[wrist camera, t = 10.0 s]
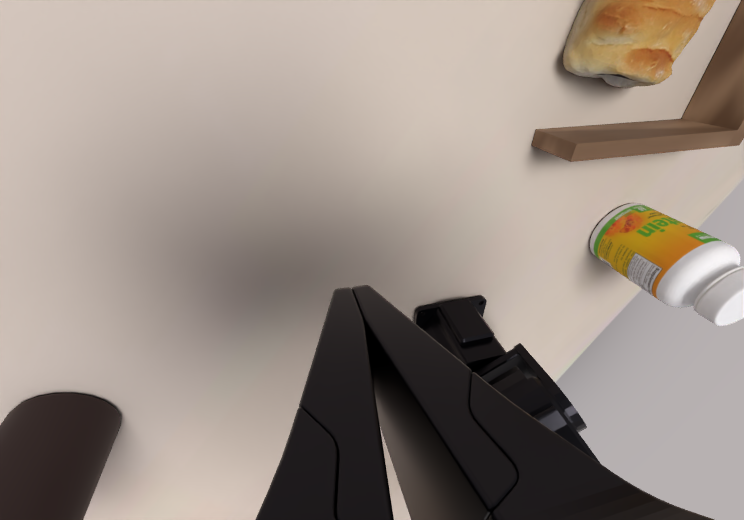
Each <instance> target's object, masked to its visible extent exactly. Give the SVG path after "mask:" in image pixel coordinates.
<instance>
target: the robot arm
mask: <svg viewBox="0 0 744 520" xmlns="http://www.w3.org/2000/svg"><path fill="white" fill-rule="evenodd" d="M485 306H486V299H485V298H484V297H483V296H477V297H472V298H466V299H461V300H455V301H450V302H444V303H439V304H433V305H428V306H422V307H419V308H417V309H416V311H415V318H414V322H413V321H411V320H410V319H409V318H408V317H407V316H405V315H404V314H403V313H402V312H400V311H399V310H398V309H397V308H396V307H394V306H393V305H392V304H391V303H390V302H388V301H387V300H386V299H385V298H383V297H382V296H381V295H380V294H379V293H377V292H376V291H375V290H374V289H373V288H371V287H370V286H368V285H363V286H356V287H353V288H352V289H351V288H349V287H348V288H340V289H336V290H335V291H334V293H333V296H332V299H331V302H330V306H329V309H328V312H327V316H326V319H325V322H324V325H323V329H322V332H321V335H320V338H319V342H318V345H317V348H316V352H315V355H314V358H313V361H312V365H311V368H310V371H309V374H308V378H307V381H306V384H305V388H304V391H303V394H302V397H301V401H300V404H299V409H298V410H297V413H296V416H295V419H294V423H293V426H292V429H291V432H290V435H289V438H288V441H287V444H286V447H285V449H284V452H283V455H282V458H281V461H280V463H279V466H278V468H277V470H276V473H275V475H274V478H273V480H272V483H271V485H270V488H269V490H268V493H267V495H266V497H265V499H264V502H263V504H262V506H261V509H260V511H259V513H258V515H257V518H256V520H394V519H393V512H392V505H391V499H390V492H389V485H388V478H387V471H386V465H385V458H384V451H383V444H382V438H381V431H380V427H381V430H382V433H383V436H384V439H385V442H386V445H387V448H388V451H389V454H390V457H391V460H392V463H393V466H394V469H395V472H396V475H397V478H398V481H399V484H400V487H401V490H402V493H403V496H404V499H405V502H406V505H407V508H408V511H409V514H410V517H411V520H714V519H711V518H708V517H705V516H702V515H699V514H696V513H693V512H691V511H688V510H685V509H682V508H679V507H677V506H674V505H672V504H669V503H667V502H665V501H662V500H660V499H658V498H656V497H654V496H652V495H650V494H648V493H646V492H644V491H642V490H640V489H639V488H637V487H635V486H633V485H632V484H630V483H628V482H627V481H625V480H623V479H622V478H620V477H619V476H617V475H616V474H614V473H613V472H611V471H610V470H608V469H607V468H606V467H604V466H602V465H601V464H600V462H599V461H598V459H597V458H596V456H595V455H594V454H593V453H592V451H591V450H590V448H589V447H588V446H587V444H586V443H585V441H584V440H583V439H582V438H581V436H580V435H579V433H578V432H580V431H582V430H584V429H586V428H587V426H586V424H585V423H584V421H583V419H582V418H581V417H580V415H579V414H578V412H577V411H576V409H575V408H574V407H573V405H572V404H571V402H570V401H569V400H568V398H567V397H566V396H565V395H564V394H563V392H562V391H561V390H560V388H559V387H558V386H557V385H556V383H555V382H554V381H553V380H552V379H551V378H550V376H549V375H548V374H547V373H546V372H545V371H544V370H543V368H542V367H541V366H540V365H539V364H538V363H537V362H536V360H535V359H534V358H533V357H532V356H531V355H530V354H529V352H528V351H527V350H526V349H525V348H524V347H523V346H522V345H521V343H519V344H518V345H516V346H514V349H512V350H510V351H508V352H506V351H505V350H504V348H503V347H502V346H501V344H500V343H499V342H498V340H497V339H496V338H495V336H494V333H493V331H492V330H491V329H490V327H489V326H488V324H487V323H486V322H485V320H484V319H483V318H482V317H483V313H484V309H485ZM421 312H422V313H421Z"/></svg>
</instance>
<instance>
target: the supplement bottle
mask: <svg viewBox="0 0 744 520" xmlns="http://www.w3.org/2000/svg"><path fill="white" fill-rule="evenodd" d="M590 249H591V251H592V253H593V254H594V255H595V256H596V257H597V258H599V259H600V260H601V261H603V262H604V263H606V264H607V265H609V266H610V267H612V268H613V269H615V270H616V271H617V272H619V273H620V274H622V275H623V276H625V277H626V278H628V279H629V280H631V281H632V282H634V283H635V284H637V285H638V286H640V287H641V288H642V289H644V290H646V291H647V292H648V293H650V294H651V295H652V296H654V297H656V298H657V299H658V300H660V301H662V302H663V303H665V304H667V305H669V306H672V307H689V306H694V310H695V311H696V312H697V313H698V314H699V315H701V316H702V317H704V318H706V319H707V320H709V321H710V322H712V323H714V324H716V325H718V326H724V325H729V324H732V323H734V322H736V321H739V320H740V319H742V318H744V266H739V265H740V255H739V253H738V251H737V250H736V249H735V248H734V247H733V246H731V245H729V244H727V243H726V242H723V241H721V240H719V239H717V238H714V237H712V236H710V235H708V234H706V233H703V232H701V231H699V230H697V229H695V228H693V227H690V226H688V225H686V224H684V223H682V222H680V221H677V220H675V219H673V218H671V217H669V216H667V215H664V214H662V213H660V212H658V211H656V210H654V209H652V208H649V207H647V206H645V205H642V204H638V203H630V204H626V205H623V206H621V207H619V208H617V209H615V210H614V211H612V212H611V213H609V214H608V215H607V216H606V217H605V218H604V219H603V220H602V221H601V222H600V223H599V224H598V225H597V227H596V228H595V230H594V232H593V234H592V236H591V240H590Z"/></svg>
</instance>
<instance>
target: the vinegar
mask: <svg viewBox="0 0 744 520" xmlns="http://www.w3.org/2000/svg"><path fill="white" fill-rule="evenodd" d="M120 426H121V420H120V414H119V413H118V412H117V410H116V409H115V408H114V407H113V406H112V405H110V404H109V403H107V402H105V401H104V400H101V399H98V398H95V397H92V396H88V395H82V394H75V393H55V394H49V395H43V396H38V397H35V398H32V399H30V400H27V401H25V402H22V403H21V404H19V405H18V406H17V407H16V408H14V409H13V410H12V411H11V412H10V413H9V414H8V415H7V417H6V418H5V419H4V421H3V422H2V424H1V425H0V520H83V519H84V516H85V514H86V511H87V509H88V506H89V504H90V501H91V498H92V496H93V493H94V491H95V488H96V486H97V483H98V481H99V478H100V476H101V473H102V471H103V468H104V466H105V463H106V461H107V458H108V456H109V453H110V451H111V448H112V446H113V443H114V441H115V438H116V436H117V433H118V431H119V428H120Z"/></svg>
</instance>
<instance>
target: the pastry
mask: <svg viewBox="0 0 744 520" xmlns="http://www.w3.org/2000/svg"><path fill="white" fill-rule="evenodd" d="M714 2H715V0H584V2H583V4H582V6H581V8H580V10H579V12H578V14H577V17H576V19H575V21H574V23H573V26H572V29H571V31H570V34H569V36H568V38H567V41H566V46H565V50H564V54H563V65H564V66H565V69H566V70H568V71H569V72H572V73H573V74H575V75H578V76H582V77H591V78H593V77H596V78H598V77H601V78H603V79H604V80H605V82H607V83H608V84H609V85H611V86H618V87H621V88H631V87H634V86H650V85H655V84H658V83H660V82H662V81H664V80H665V79H666V78H668V77H669V76H670V75H671V74H672V69H671V66H672V64H673V62H674V61H675V59H676V58H677V57H678V56H679V55H680V53H681V52H682V50H683V48H684V47H685V46H686V44H687V43H688V42H689V41H690V39H691V38H692V37H693V36H694V34H695V33H696V31H697V30H698V27H699V25H700V22H701V21H702V19H703V18H704V16H705V15H706V14H707V13H708V11H709V10H710V9H711V8H712V6H713V4H714Z"/></svg>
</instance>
